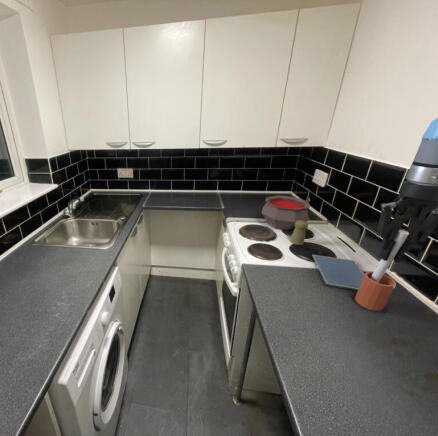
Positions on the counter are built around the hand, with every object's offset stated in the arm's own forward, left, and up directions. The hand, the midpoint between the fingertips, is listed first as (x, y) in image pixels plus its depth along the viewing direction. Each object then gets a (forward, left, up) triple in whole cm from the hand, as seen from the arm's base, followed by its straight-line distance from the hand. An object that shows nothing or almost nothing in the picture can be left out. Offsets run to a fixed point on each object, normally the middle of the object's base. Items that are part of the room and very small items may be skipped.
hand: (389, 259), depth 68 cm
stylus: (0, -2, -11) cm, 11 cm away
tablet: (+3, -16, -17) cm, 23 cm away
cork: (+14, -38, -17) cm, 44 cm away
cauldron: (+18, -57, -17) cm, 62 cm away
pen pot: (0, 0, -17) cm, 17 cm away
